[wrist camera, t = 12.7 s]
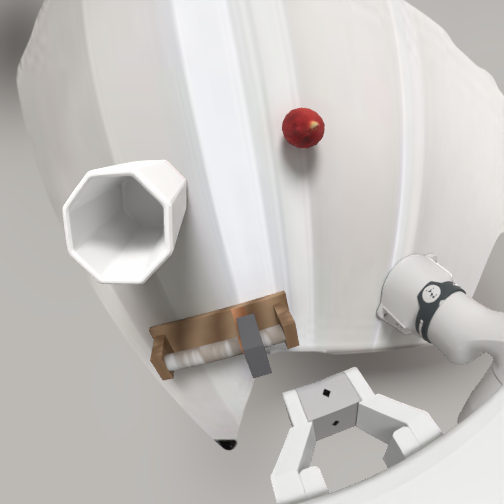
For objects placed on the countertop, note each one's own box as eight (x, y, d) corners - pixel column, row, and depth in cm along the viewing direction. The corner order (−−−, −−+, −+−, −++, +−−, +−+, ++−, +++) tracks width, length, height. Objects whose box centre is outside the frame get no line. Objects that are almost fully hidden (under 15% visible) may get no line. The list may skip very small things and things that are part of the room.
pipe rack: (283, 290, 48) (296, 314, 41) (291, 325, 51) (303, 350, 44) (149, 327, 46) (143, 354, 39) (167, 358, 49) (164, 386, 42)
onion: (304, 154, 40) (325, 155, 32) (270, 138, 38) (285, 136, 31) (318, 121, 38) (341, 117, 31) (285, 105, 36) (303, 95, 29)
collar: (253, 313, 45) (263, 344, 37) (261, 341, 47) (271, 372, 40) (236, 318, 45) (242, 350, 37) (245, 345, 47) (253, 378, 40)
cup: (201, 174, 38) (197, 192, 21) (173, 241, 41) (153, 305, 24) (132, 147, 35) (79, 147, 18) (108, 216, 38) (52, 263, 21)
